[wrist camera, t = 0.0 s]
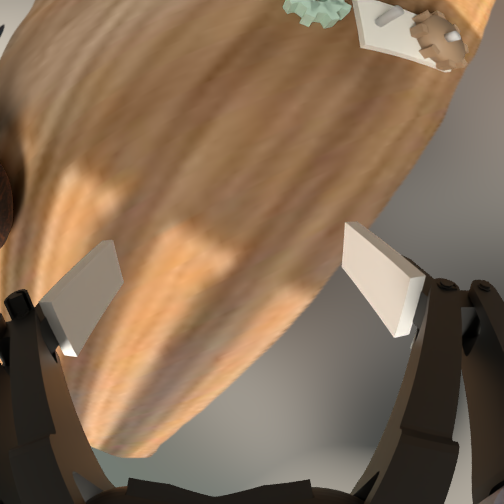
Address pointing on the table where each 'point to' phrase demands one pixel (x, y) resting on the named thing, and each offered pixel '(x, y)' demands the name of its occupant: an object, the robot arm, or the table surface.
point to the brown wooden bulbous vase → (5, 206)
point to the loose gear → (318, 11)
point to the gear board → (410, 35)
